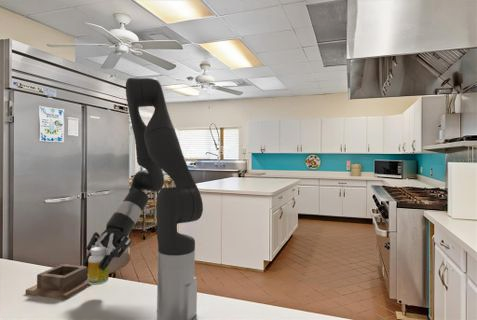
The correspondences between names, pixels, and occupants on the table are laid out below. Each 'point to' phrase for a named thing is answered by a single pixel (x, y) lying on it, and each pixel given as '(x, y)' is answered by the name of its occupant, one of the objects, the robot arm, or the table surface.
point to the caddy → (61, 282)
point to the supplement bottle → (94, 273)
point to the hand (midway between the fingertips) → (93, 267)
